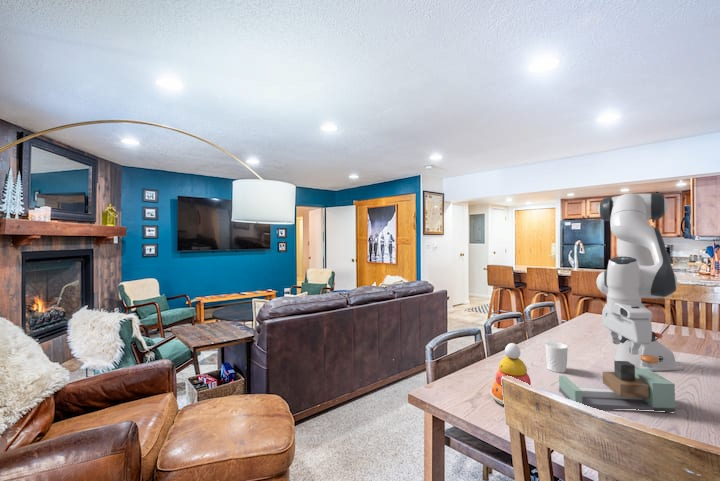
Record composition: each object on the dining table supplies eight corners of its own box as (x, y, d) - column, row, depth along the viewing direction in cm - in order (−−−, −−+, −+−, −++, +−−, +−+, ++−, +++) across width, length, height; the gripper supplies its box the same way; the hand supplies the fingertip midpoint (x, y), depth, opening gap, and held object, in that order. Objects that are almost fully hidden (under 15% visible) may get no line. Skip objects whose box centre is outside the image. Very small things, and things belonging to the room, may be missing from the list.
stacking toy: (488, 388, 122) (487, 335, 121) (532, 393, 118) (531, 337, 117) (492, 408, 108) (491, 348, 108) (541, 414, 104) (540, 351, 104)
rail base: (647, 394, 114) (647, 368, 114) (675, 413, 103) (674, 384, 102) (559, 390, 119) (558, 365, 119) (575, 407, 107) (574, 379, 107)
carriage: (628, 384, 114) (628, 357, 114) (648, 398, 105) (648, 369, 104) (602, 383, 116) (602, 357, 116) (620, 396, 106) (620, 368, 106)
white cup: (560, 374, 132) (559, 349, 132) (541, 368, 139) (541, 344, 139) (572, 370, 136) (571, 346, 136) (553, 364, 143) (552, 341, 143)
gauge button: (652, 364, 111) (652, 354, 111) (662, 369, 106) (662, 359, 106) (637, 364, 111) (637, 354, 111) (646, 369, 107) (646, 359, 107)
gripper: (596, 300, 121) (596, 338, 121) (632, 314, 100) (633, 360, 101) (615, 300, 120) (616, 338, 120) (656, 314, 99) (657, 360, 100)
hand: (624, 348), depth 110 cm, fingers open, 8 cm apart
